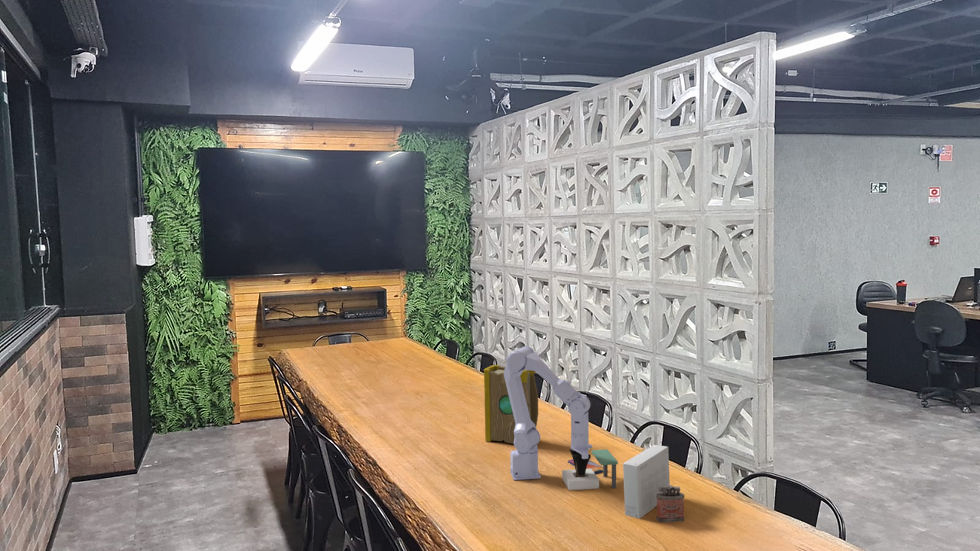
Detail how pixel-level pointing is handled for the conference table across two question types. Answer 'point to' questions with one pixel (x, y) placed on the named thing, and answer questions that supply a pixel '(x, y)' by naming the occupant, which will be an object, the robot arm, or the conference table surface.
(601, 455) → the small green stool
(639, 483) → the skincare box
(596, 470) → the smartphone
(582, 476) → the peg
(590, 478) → the socket block
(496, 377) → the decorative book
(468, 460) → the conference table surface
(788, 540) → the conference table surface
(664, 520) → the lighter
